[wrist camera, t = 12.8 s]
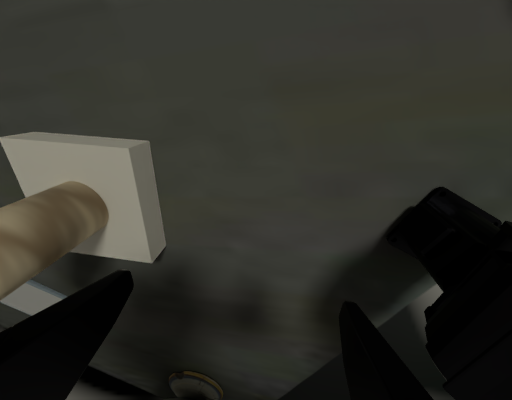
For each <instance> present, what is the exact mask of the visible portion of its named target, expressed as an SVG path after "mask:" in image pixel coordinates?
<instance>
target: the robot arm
mask: <svg viewBox="0 0 512 400" xmlns="http://www.w3.org/2000/svg"><path fill="white" fill-rule="evenodd" d="M441 192H443V193H442V194H441V195H439V194H440V193H441ZM492 223H493V224H492ZM501 224H502V222H501V221H500V220H498V219H497V218H495V217H494V216H492V215H490V214H488V213H487V212H485V211H483V210H482V209H480V208H478V207H477V206H475V205H473V204H472V203H470V202H468V201H467V200H465V199H463V198H462V197H460V196H458V195H457V194H455V193H453V192H452V191H450V190H448V189H446V188H445V187H438V188H436V189H435V190H434V191H433V192H432V193H431V194H430V195H429V196H428V197H427V198H426V199H425V200H424V201H423V202H422V203H421V204H419V205H418V206H417V207H416V208H415V209H414V210H413V211H412V212H411V213H410V214H409V215H408V216H407V217H406V218H405V219H404V220H403V221H402V222H401V223H400V224H399V225H398V226H397V227H396V228H395V229H394V230H393V231H392V232H391V233H390V234H389V235H388V236H387V240H388V242H389V243H390V244H392V245H393V246H395V247H397V248H399V249H401V250H403V251H404V252H406V253H408V254H410V255H412V256H413V257H415V258H417V259H419V260H420V262H421V263H422V264H423V266H424V267H425V268H426V270H427V271H428V272H429V274H430V275H431V276H432V278H433V279H434V280H435V282H436V283H437V284H438V285H439V287H440V288H441V289H442V291H443V293H442V294H441V296H440V297H439V298H438V299H437V300H436V301H435V302H434V304H432V306H429V307H427V308H426V310H425V311H424V313H425V317H426V322H427V324H426V327H425V331H426V337H427V341H428V342H427V344H426V349H427V351H428V353H429V355H430V356H431V358H432V360H433V362H434V364H435V365H436V367H437V368H438V369H439V371H440V372H441V373H442V375H443V376H444V377H445V378H446V380H447V381H446V382H445V383H444V384H443V388H444V389H445V390H446V391H447V392H448V393H449V394H450V395H451V396H452V397H453V398H454V399H455V400H512V222H509V221H505V222H504V223H503V224H502V225H501ZM392 238H395V239H393V240H391V239H392ZM133 287H134V283H133V279H132V275H131V272H130V271H129V270H124V269H119V270H117V271H115V272H113V273H111V274H110V275H108V276H106V277H104V278H102V279H100V280H98V281H96V282H94V283H93V284H91V285H89V286H87V287H85V288H83V289H81V290H79V291H77V292H76V293H74V294H72V295H70V296H68V297H66V298H64V299H62V300H61V301H59V302H57V303H55V304H53V305H51V306H49V307H47V308H45V309H44V310H42V311H40V312H38V313H36V314H34V315H32V316H30V317H28V318H27V319H25V320H23V321H21V322H19V323H17V324H15V325H14V326H13V327H9V328H8V329H6V330H4V331H2V332H0V400H65V399H66V398H67V396H68V395H69V393H70V392H71V390H72V389H73V387H74V385H75V384H76V383H77V381H78V379H79V378H80V376H81V375H82V373H83V372H84V370H85V369H86V367H87V366H88V364H89V362H90V361H91V359H92V358H93V356H94V355H95V353H96V352H97V350H98V349H99V347H100V346H101V344H102V342H103V341H104V339H105V338H106V336H107V335H108V333H109V332H110V330H111V328H112V327H113V325H114V324H115V322H116V320H117V318H118V316H119V314H120V313H121V311H122V309H123V307H124V305H125V303H126V301H127V299H128V297H129V296H130V294H131V292H132V290H133ZM339 325H340V334H341V344H342V354H343V362H344V368H345V373H346V378H347V383H348V388H349V392H350V397H351V400H433V399H432V397H431V396H430V395H429V394H428V392H427V391H426V390H425V389H424V387H423V386H422V385H421V384H420V382H419V381H418V380H417V379H416V377H415V376H414V375H413V374H412V372H411V371H410V370H409V369H408V367H407V366H406V365H405V364H404V363H403V361H402V360H401V359H400V358H399V356H398V355H397V354H396V353H395V351H394V350H393V349H392V348H391V346H390V345H389V344H388V343H387V341H386V340H385V339H384V338H383V337H382V335H381V334H380V333H379V332H378V330H377V329H376V328H375V326H374V325H373V324H372V323H371V321H370V320H369V319H368V318H367V316H366V315H365V314H364V313H363V312H362V310H361V309H360V308H359V307H358V305H357V304H356V303H354V302H349V301H344V302H343V305H342V308H341V311H340V315H339Z"/></svg>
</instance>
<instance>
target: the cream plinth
mask: <svg viewBox="0 0 512 400" xmlns="http://www.w3.org/2000/svg"><path fill="white" fill-rule="evenodd" d="M0 142H1V144H2V146H3V148H4V150H5V153H6V155H7V157H8V159H9V161H10V164H11V166H12V168H13V170H14V173H15V175H16V177H17V179H18V181H19V184H20V186H21V188H22V190H23V193H24V195H25V197H26V198H27V197H29V196H32V195H34V194H37V193H39V192H42V191H44V190H47V189H49V188H52V187H54V186H57V185H59V184H62V183H64V182H68V181H75V182H80V183H82V184H85V185H87V186H88V187H90V188H92V189H93V190H94V191H95V192H96V193H97V194H98V195H99V196H100V197H101V198H102V200H103V201H104V203H105V205H106V207H107V210H108V222H107V224H106V225H105V226H104V227H103V228H101V229H100V230H99V231H97V232H96V233H94V234H93V235H92V236H90V237H89V238H87V239H86V240H85V241H83V242H82V243H80V244H79V245H78V246H76V247H75V248H73V249H72V250H71V251H69V252H74V253H81V254H88V255H96V256H103V257H110V258H117V259H124V260H132V261H139V262H146V263H153V261H154V260H155V259H156V258H157V257H158V255H159V254H160V253H161V252H162V250H163V249H164V248H165V247H166V241H165V235H164V229H163V223H162V216H161V210H160V204H159V198H158V192H157V186H156V179H155V173H154V167H153V161H152V155H151V149H150V142H149V141H143V140H131V139H118V138H105V137H93V136H80V135H67V134H55V133H42V132H30V133H24V134H18V135H11V136H5V137H0Z"/></svg>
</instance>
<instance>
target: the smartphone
mask: <svg viewBox="0 0 512 400" xmlns="http://www.w3.org/2000/svg"><path fill="white" fill-rule="evenodd" d="M66 297H67V296H65V295H63V294H61V293H59V292H57V291H55V290H52V289H50V288H48V287H46V286H44V285H42V284H39V283H37V282H35V281H33V280H31V279H30V280H29V281H27V282H26V283H24V284H23V285H22V286H20V287H19V288H17V289H16V290H15V291H13V292H12V293H10V294H9V295H8V296H6V297H5V298H3V299H2V300H1V301H0V302H1V303H3V304H5V305H8V306H10V307H12V308H15V309H17V310H19V311H22V312H24V313H27V314H29V315H31V316H32V315H34V314H36V313H38V312H40V311H42V310H44V309H45V308H47V307H49V306H51V305H53V304H55V303H57V302H59V301H61V300H62V299H64V298H66Z"/></svg>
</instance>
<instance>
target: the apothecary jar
mask: <svg viewBox="0 0 512 400" xmlns="http://www.w3.org/2000/svg"><path fill="white" fill-rule="evenodd" d="M169 386H170V388H171V390H172V391H173V392H174V393H175V395H176V396H177V397H172V398H166V399H163V400H221V399H222V397H223V390H222V388H221V387H220V385H219V384H218V383H217V382H215V381H214V380H213V379H211V378H209V377H208V376H206V375H203V374H201V373H197V372H193V371H183V372H182V373H176V372H175V373H173V374H172V375H171V376H170V377H169Z"/></svg>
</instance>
